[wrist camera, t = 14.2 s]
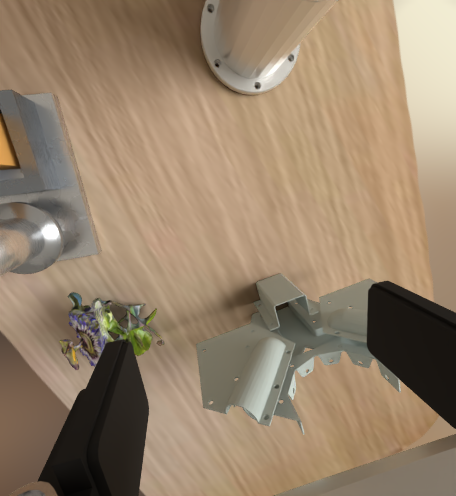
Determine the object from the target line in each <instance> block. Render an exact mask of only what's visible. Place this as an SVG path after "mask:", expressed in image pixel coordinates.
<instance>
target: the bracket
mask: <svg viewBox="0 0 456 496" xmlns="http://www.w3.org/2000/svg"><path fill="white" fill-rule="evenodd" d="M374 283H377V282H375V281H373V280H371V279H367V280H364V281H361V282H359V283H356V284H353V285H351V286H348V287H345V288H343V289H340V290H338V291H335V292H332V293H330V294H327V295H324V296H322V297H319V300H320V303H318V302H315V301H312V300H308V299H307V298H306V295H305V294H304V293H303V292H301V291H300V290H299V289H298V288H297V287H296V286H295V285H294V284H293V283H291V282H290V281H289V280H288V279H287V278H286V277H285V276H284V275H283V274H281V273H280V274H277V275H275V276H272V277H269V278H266V279H264V280H261V281H258V282H257V283H256V285H257V289H258V293H259V296H260V300H258V301H256V302H253V303H254V304H255V306H256V308H257V309H258V311H259V312H257V313H254V314H252V319H251V323H250V324H248V325H245V326H242V327H240V328H237V329H234V330H232V331H229V332H227V333H224V334H221V335H219V336H216V337H213V338H211V339H208V340H205V341H203V342H200V343H197V344H196V347H197V356H198V365H199V373H200V382H201V391H202V400H203V408H206V409H209V410H213V411H216V412H220V413H224V414H227V413H228V411H229V409H230V407H231V405H234V407H235V405H236V406H239V407H242V408H243V410H244V411H245V412H246V413H247V414H248V415H249V416H250V417H251V418H253V419H255V420H257V422H258V423H259V424H263V425H266V426H270V424H271V421H272V417H273V415H276V416H280V417H284V418H288V419H292V420H296V421H297V422H298V424H299V426H300V428H301V430H302V433H303V435H304V430H303V427H302V423H301V420H300V418H299V416H298V414H297V412H296V410H295V408H294V406H293V405H292V403H291V401H290V399H289V397H288V395H289V396H290V398H291V400H293V398H294V394H295V390H296V383H295V375H294V372H295V371H296V370H297V371H298V372H299V374H300V375H301V376H302V377H305V376H306V375H308V374H309V373H310V372H312V371H313V366H314V357H315V356H319V358H320V359H321V360H322V362H323V363H324V365H331V364H337V363H339V360H340V356H341V352H342V351H346V352H347V354H348V355H349V357H350V359H351V361H352V363H353V364H355V365H358V366H362V367H365V368H369V367H370V364H371V362H372V359H376V358H375V357H374V356H373V355H372V354H371V353H370V352H369V350H368V348H367V309H368V290H369V289H370V288H371V285H372V284H374ZM285 302H288V305H289V306H288V307H286V308H284V309H281V310H278V311H276V309H275V307H276V306H277V305H280V304H283V303H285ZM328 302H331V303H330V304H328ZM295 303H298V304H295ZM258 305H261V306H258ZM348 307H353V308H348ZM261 316H262V317H261ZM313 321H316V322H315V323H313ZM305 348H310V349H312V350H310V351H307V352H305V353H303V352H304V350H305ZM203 350H206V351H205V352H203ZM331 359H332V360H333V362H329V360H331ZM358 361H361V362H362V363H363V364H360V363H359V362H358ZM376 361H377V363H378V366H379V369H380V372H381V375H382V376H383V377H384V378H385V379H386V380H387V381H388V382H389V383H390V384H391V385H392V386H393V387H394V388H395V389H396V390H397V391H398V392H401V391H400V381H399V378H397V377H396V376H395V375H394V374H393V373H392V372H391V371H390V370H388V369H387V368H386V367H385V366H384V365H383V364H382V363H381V362H380V361H378V360H377V359H376ZM291 365H294V367H292V368H291V367H290V366H291ZM307 369H308V372H306V370H307ZM386 375H387V376H388V378H389V379H388V378H387V376H386ZM235 378H239V379H238V380H237V381H234V379H235ZM280 400H283V401H284V402H283V403H282V404H280V403H279V401H280ZM210 401H213V404H211V405H209V402H210Z"/></svg>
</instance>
